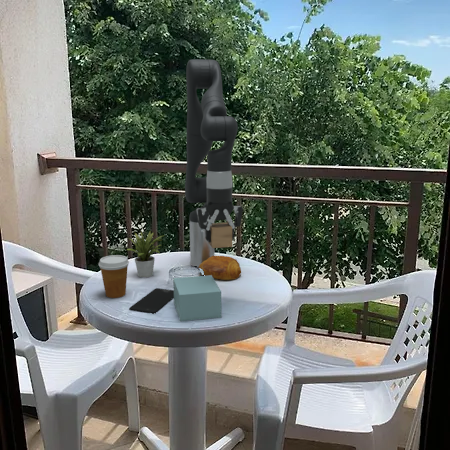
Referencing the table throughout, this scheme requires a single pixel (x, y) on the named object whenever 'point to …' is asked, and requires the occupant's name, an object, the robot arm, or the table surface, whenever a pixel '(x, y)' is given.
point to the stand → (197, 298)
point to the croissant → (221, 267)
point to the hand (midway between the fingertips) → (219, 240)
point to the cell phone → (153, 301)
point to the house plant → (145, 255)
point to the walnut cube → (221, 235)
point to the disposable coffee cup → (114, 275)
